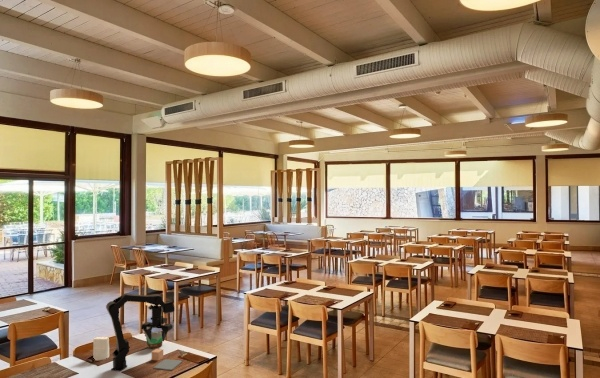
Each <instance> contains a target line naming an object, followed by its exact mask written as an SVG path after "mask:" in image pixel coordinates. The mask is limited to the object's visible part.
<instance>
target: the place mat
mask: <svg viewBox="0 0 600 378" xmlns="http://www.w3.org/2000/svg"><path fill="white" fill-rule="evenodd" d="M183 362H184V361H183V360H178V359H168V358H164V359H163V360H161V361H160V362H159V363H157V364H156V365H155V366H153V369H155V370H164V371H173V370H174V369H176V368H177V367H178V366H179V365H181V364H182V363H183Z"/></svg>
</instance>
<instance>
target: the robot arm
mask: <svg viewBox="0 0 600 378" xmlns="http://www.w3.org/2000/svg"><path fill="white" fill-rule="evenodd" d="M127 302H132V303H133V302H134V303H148V304H150V305H149V306H148V310H150V311H151V317H150V320H151V321H146V322H144V323H142V324H141V325H140V326H141V327H140V328H141V330H142V331H144V332H145V333H146V334H147V336H148V338H149V339H150V340H151V338H152V332H153V331H152V330H153V329H161V331H160V332H162V340H163V342H165V340H166V338H167V335H168V332H169V331H171V330H173V329H174V328H173V326H174V325H173V324H172V323H168V318H167V317H164V315H163V314H165V315H166V314H170V313H174V312H175V305H174V302H173V301H172V300H170V301H167V302H164V301H163V297H162V296H161V295H159V293H152V294H148V295H147V294H146V295H145V294H144V295H143V294H134V293H133V294H130V293H129V294H128V293H123V294H122V295H121V296H119V297H117V298H114V299H113V300H112V301H109V302H107V304H106V305H105V308H106V310H107V313H108V315H109V316H110V318H111V323H112V327H113V330H114V331H113V332H114V334H115V335H114V336H115V338H116V343H115V347H116V349H114V351H112V356H113V358H112V368H111V371H116V372H117V371H118V372H120V371H122V370H125V368H127V367H128V364H127V355H128V354H129V352H130V349H131V347H130V345H129V341H128V339H126V338H124V333H123V329H122V326H121V325H122V323H121V320H120V309H121V308H122V307H123V306H124V305H125V304H126V303H127ZM162 313H163V314H162Z"/></svg>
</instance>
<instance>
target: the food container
mask: <svg viewBox="0 0 600 378" xmlns="http://www.w3.org/2000/svg"><path fill="white" fill-rule="evenodd" d="M151 332H152V338H151V340H150V339H149V338H148V336H147V334H146V333H145V334H144V336H145V340H146V347H147V348H148V349H150V350H155V349H160V348H161V347H163V342H164V341H163V340H162V332H161V331H151Z"/></svg>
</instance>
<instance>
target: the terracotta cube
mask: <svg viewBox="0 0 600 378" xmlns="http://www.w3.org/2000/svg"><path fill="white" fill-rule="evenodd" d="M162 359H164V349H163V348H156V349H153V350H152V351H151V360H152V361H158V362H159V361H160V360H162Z"/></svg>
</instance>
